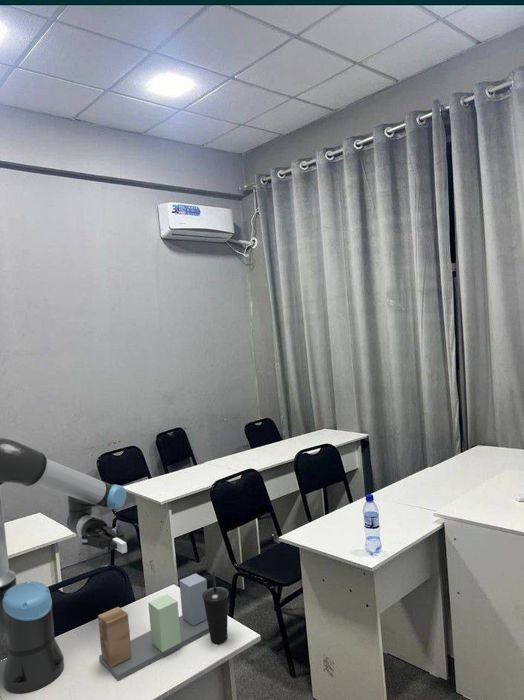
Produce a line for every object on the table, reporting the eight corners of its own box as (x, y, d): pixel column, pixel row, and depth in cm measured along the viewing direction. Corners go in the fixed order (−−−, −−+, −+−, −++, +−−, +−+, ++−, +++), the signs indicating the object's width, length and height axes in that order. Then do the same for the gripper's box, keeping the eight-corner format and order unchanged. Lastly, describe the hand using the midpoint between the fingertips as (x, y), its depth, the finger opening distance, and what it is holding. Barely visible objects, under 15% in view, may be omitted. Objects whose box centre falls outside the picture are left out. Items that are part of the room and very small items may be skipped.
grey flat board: (99, 660, 145) (99, 655, 145) (195, 613, 165) (195, 609, 165) (118, 680, 135) (117, 675, 135) (217, 628, 156) (217, 623, 156)
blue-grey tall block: (182, 618, 160) (179, 580, 159) (198, 610, 164) (195, 573, 163) (193, 625, 155) (189, 586, 155) (209, 617, 159) (206, 579, 159)
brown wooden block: (101, 657, 143) (97, 615, 143) (122, 647, 147) (118, 606, 146) (111, 667, 138) (107, 623, 138) (131, 656, 142) (127, 614, 142)
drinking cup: (220, 650, 145) (214, 580, 144) (200, 642, 150) (194, 574, 149) (237, 636, 151) (232, 569, 150) (218, 628, 156) (212, 563, 155)
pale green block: (151, 643, 148) (148, 602, 147) (170, 634, 152) (166, 594, 151) (162, 652, 143) (158, 609, 143) (181, 642, 147) (177, 601, 147)
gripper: (112, 535, 172) (145, 554, 154) (73, 546, 164) (103, 568, 146) (110, 512, 172) (144, 529, 154) (71, 523, 164) (101, 541, 146)
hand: (124, 548), depth 150 cm, fingers closed
